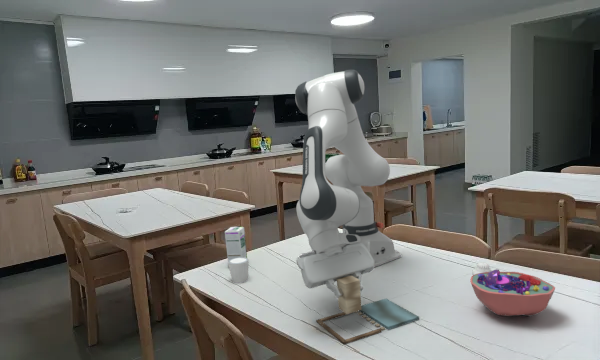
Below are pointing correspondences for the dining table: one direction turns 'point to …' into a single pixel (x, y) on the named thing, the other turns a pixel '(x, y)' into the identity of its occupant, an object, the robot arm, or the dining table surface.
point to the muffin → (481, 268)
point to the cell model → (512, 292)
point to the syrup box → (235, 243)
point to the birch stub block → (349, 294)
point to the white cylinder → (238, 269)
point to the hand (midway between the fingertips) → (350, 293)
